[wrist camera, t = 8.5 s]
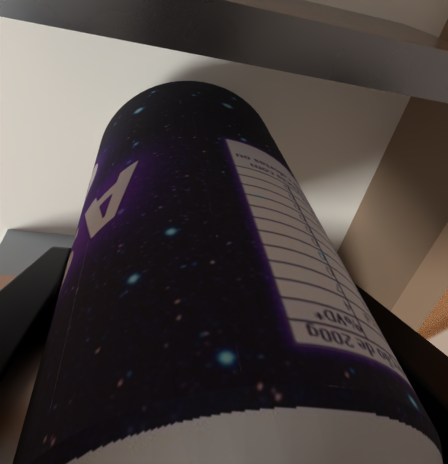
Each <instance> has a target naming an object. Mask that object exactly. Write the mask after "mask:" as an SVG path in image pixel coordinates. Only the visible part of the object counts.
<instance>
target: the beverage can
mask: <svg viewBox="0 0 448 464" xmlns="http://www.w3.org/2000/svg"><path fill="white" fill-rule="evenodd" d="M13 464H443V456H442V448H441V442H440V438H439V435H438V433H437V431H436V429H435V427H434V425H433V424H432V422H431V420H430V418H429V417H428V415H427V413H426V411H425V409H424V408H423V406H422V404H421V402H420V400H419V399H418V397H417V395H416V393H415V391H414V390H413V388H412V386H411V384H410V383H409V381H408V379H407V377H406V375H405V374H404V372H403V370H402V368H401V366H400V365H399V363H398V361H397V359H396V357H395V356H394V354H393V352H392V350H391V349H390V347H389V345H388V343H387V341H386V340H385V338H384V336H383V334H382V332H381V331H380V329H379V327H378V325H377V323H376V322H375V320H374V318H373V316H372V315H371V313H370V311H369V309H368V307H367V306H366V304H365V302H364V300H363V298H362V297H361V295H360V293H359V291H358V290H357V288H356V286H355V284H354V282H353V281H352V279H351V277H350V275H349V273H348V272H347V270H346V268H345V266H344V264H343V263H342V261H341V259H340V257H339V256H338V254H337V252H336V250H335V248H334V247H333V245H332V243H331V241H330V239H329V238H328V236H327V234H326V232H325V230H324V229H323V227H322V225H321V223H320V222H319V220H318V218H317V216H316V214H315V213H314V211H313V209H312V207H311V205H310V204H309V202H308V200H307V198H306V196H305V195H304V193H303V191H302V189H301V188H300V186H299V184H298V182H297V180H296V179H295V177H294V175H293V173H292V171H291V170H290V168H289V166H288V164H287V163H286V161H285V159H284V157H283V155H282V154H281V152H280V150H279V148H278V146H277V145H276V143H275V141H274V139H273V137H272V136H271V134H270V132H269V130H268V129H267V127H266V125H265V123H264V122H263V120H262V118H261V117H260V116H259V114H258V113H257V112H256V111H255V109H254V108H253V107H252V106H251V105H250V104H249V103H247V102H246V101H245V100H244V99H243V98H241V97H240V96H238V95H237V94H235V93H233V92H231V91H229V90H227V89H225V88H223V87H220V86H217V85H214V84H210V83H206V82H199V81H175V82H169V83H164V84H160V85H157V86H154V87H152V88H149V89H147V90H145V91H143V92H141V93H139V94H138V95H136V96H134V97H133V98H132V99H130V100H129V101H128V102H126V103H125V104H124V105H123V106H122V107H121V108H120V109H119V110H118V111H117V112H116V114H115V115H114V116H113V118H112V119H111V120H110V122H109V124H108V125H107V127H106V129H105V132H104V134H103V137H102V140H101V143H100V146H99V150H98V154H97V157H96V161H95V165H94V168H93V172H92V176H91V179H90V183H89V187H88V190H87V194H86V197H85V201H84V205H83V208H82V212H81V216H80V219H79V223H78V227H77V230H76V234H75V238H74V241H73V245H72V249H71V252H70V256H69V259H68V263H67V267H66V270H65V274H64V278H63V281H62V285H61V289H60V292H59V296H58V300H57V303H56V307H55V311H54V314H53V318H52V321H51V325H50V329H49V332H48V336H47V340H46V343H45V347H44V351H43V354H42V358H41V362H40V365H39V369H38V372H37V376H36V380H35V383H34V387H33V391H32V394H31V398H30V402H29V405H28V409H27V413H26V416H25V420H24V424H23V427H22V431H21V434H20V438H19V442H18V445H17V449H16V453H15V456H14V460H13Z"/></svg>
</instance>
